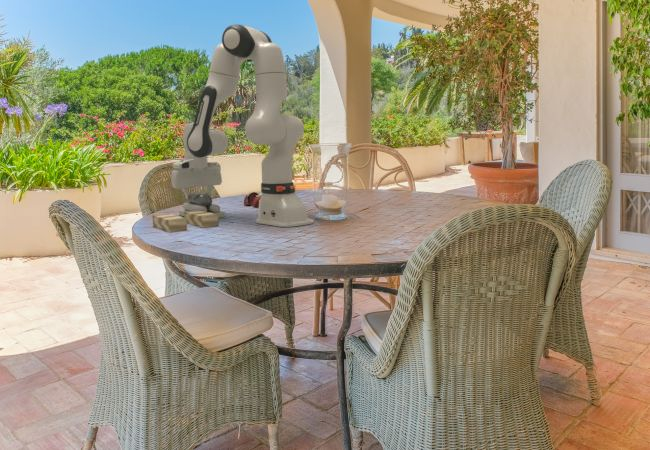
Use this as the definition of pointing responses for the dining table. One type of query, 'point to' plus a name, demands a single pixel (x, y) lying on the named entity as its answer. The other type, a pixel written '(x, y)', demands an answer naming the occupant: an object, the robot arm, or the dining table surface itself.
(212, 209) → the plate with parallel rods
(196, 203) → the axle
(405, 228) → the dining table surface
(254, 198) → the teeth model
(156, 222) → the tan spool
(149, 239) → the dining table surface
